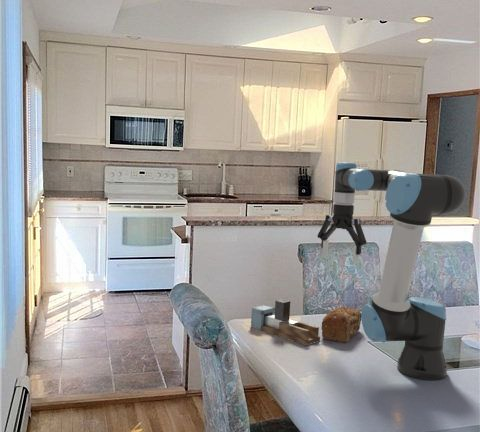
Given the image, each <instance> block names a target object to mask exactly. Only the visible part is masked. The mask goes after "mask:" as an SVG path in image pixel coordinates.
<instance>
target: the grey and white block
mask: <svg viewBox="0 0 480 432" xmlns="http://www.w3.org/2000/svg"><path fill="white" fill-rule="evenodd" d="M274 307H275V315H274V314H270V313H267V314H264V320H263V325H267V326H270V327H273V328H276V329H279V322H284V323H287V324H290V325H293V326H297V327H299V322H300V321H299V322H297V321H298V320H296V321H294V320H295V319H293V320H290V319H291V318H290V315H291V314H290V312H291V300H288V299H284V298H280V299H276V300H275V305H274Z"/></svg>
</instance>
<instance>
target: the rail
mask: <svg viewBox="0 0 480 432" xmlns="http://www.w3.org/2000/svg"><path fill="white" fill-rule="evenodd" d="M289 319H290V320H294V321H297V322H299V327H297V326H293V325H290V324H287V323H284V322H279V329H276V328H273V327H270V326H267V325H263V326H261V330H260V331H262V332H266V333H268V334H271V335H274V336H277V337H281V338H284V339H287V340H290V341H292V342H296V343H298V344H302V345H305V346H309V345H312V344H314V343H317V341H318V342H320V341H321V336H319V333H320V332H319V331H320V327H319V326H316V325H312V324H309V323H306V322H302V321H300V320H296V319H293V318H289Z"/></svg>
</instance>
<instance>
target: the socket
mask: <svg viewBox="0 0 480 432" xmlns="http://www.w3.org/2000/svg"><path fill="white" fill-rule="evenodd" d="M267 313H270V314H274V315H275V306H271V305H268V304H262V305H259V306H255V307H252V308H251V316H250V317H251V320H250V321H251V322H250V328H254V329H256V330H260V331H262V330H261V326H263V320H264V314H267Z"/></svg>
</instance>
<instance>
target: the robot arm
mask: <svg viewBox="0 0 480 432" xmlns="http://www.w3.org/2000/svg"><path fill="white" fill-rule="evenodd" d="M334 173H335V174H334V192H333V193H334V194H333V195H334V196H333V203H334V204H333V207H332V214H333V215H332V214H326V215H325V219H324V222H323V224H322V226H321V228H320V230H319V232H318V233H317V238H318V239H320V240H321V245H320V247H321V249H322V251H321V252H322V253H321V254H322V256H321V257H322V258H324V259H325V258H328V257H329V245H330V243H329V242H330V240H328V239H329V238H330V236H331V235H332V234H333V233H334V232H335V231H336V230H337V229H341V230H346V231H347V233H348V234H349V236H350V237H351V239H352V240H353V243H354V244H355V245H353V254H352V255H353V256H352V264H358V263H359V261H360V260H359V259H360V255H361V254H362V246H365V245H367V243H368V242H367V240H366V237H365V234H364V230H363V228H362V225H361V219H360V218H359V217H358V218H353V217H354V212H355V210H354V209H355V205H353V204H355V195H356V193H355V192H356V191H358V192H360V191H361V192H365V191H376V192H378V191H380V192H381V191H383V192H385V197H384V198H385V199H384V200H385V207H386V210H387V211H388V212H389V213H390V214H389V217H390V218H391V220H392V222H393V224H392V229H391V233H390V239H389V242H388V248H387V253H386V256H385V262H384V265H383V271H382V275H381V280H380V285H379V289H378V292H375V293H374V294H373V295H372V298H371V302H370V303H366V304H364V305H363V306H362V309H361V311H360V312H361V324H362V328H363V331H364V333H365V335H366V337H367V338H368V339H369V340H370V341H372V342H373V343H374V342H376V343H377V342H381V343H386V342H389V343H390V342H404V346H403V348H402V350H401V352H400V353H401V354H400V356H399V357H398V359H397V366H396V367H397V370H398V371H399V372H400V373H402V374H404V375H406V376H409V377H412V378H414V379H421V380H427V381H429V380H430V381H435V380H442V379H445V378H446V377H447V370H448V368H447V364H446V363H447V362H446V360H445V355H444V341H445V340H444V338H445V331H446V330H445V329H446V320H447V309H446V307H445V305H443V304H442V303H440V302H437V301H434V300H432V299H431V300H430V299H428V298H423V297H413V296H411V297H409V298H408V296H409V292H410V288H411V287H410V286H411V284H412V280H413V275H414V271H415V267H416V263H417V258H418V254H419V249H420V246H421V241H422V237H423V233H424V229H425V228H426V227H428V226H430V225H431V223H432V220H433V219H432V218H433V216H446V215H450V214H453V213H455V212H457V211H458V210H459V209H460V208H461V207H462V206H463V205H464V203H465V200H466V197H467V192H466V188H465V185H464V184H463V182H462V181H461V180H460V179H458V178H457V177H455V176H453V175H448V174H432V173H431V174H428V173H415V172H410V173H409V172H405V171H404V170H399V169H393V170H390V169H373V168H372V169H371V168H370V169H369V168H367V169H366V168H358V167H357V163H355V162H341V161H340V162H337V163H336V164H335V171H334ZM332 222H333V223H332ZM331 223H332V224H331ZM353 225H354V226H353Z"/></svg>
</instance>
